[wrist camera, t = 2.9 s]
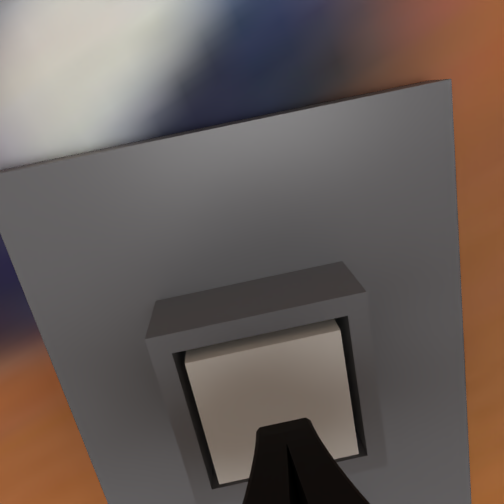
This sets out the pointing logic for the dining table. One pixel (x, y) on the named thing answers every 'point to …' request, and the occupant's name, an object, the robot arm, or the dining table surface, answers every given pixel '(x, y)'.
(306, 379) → the white key
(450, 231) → the grey key base
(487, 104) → the dining table surface
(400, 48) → the dining table surface
